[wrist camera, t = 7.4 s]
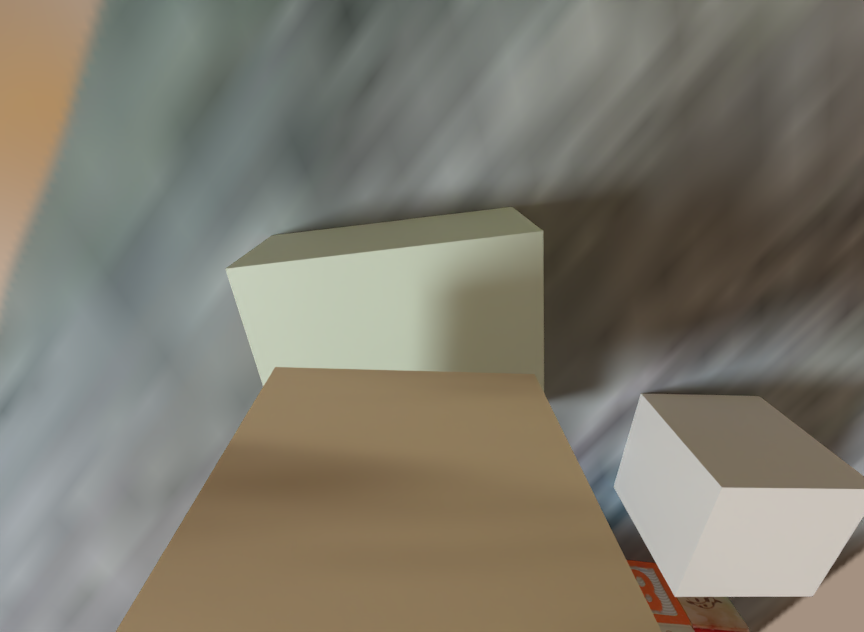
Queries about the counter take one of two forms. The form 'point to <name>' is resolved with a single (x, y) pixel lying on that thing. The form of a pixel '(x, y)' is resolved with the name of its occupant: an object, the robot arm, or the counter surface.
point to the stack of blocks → (684, 605)
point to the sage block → (398, 296)
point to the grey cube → (735, 496)
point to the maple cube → (394, 516)
